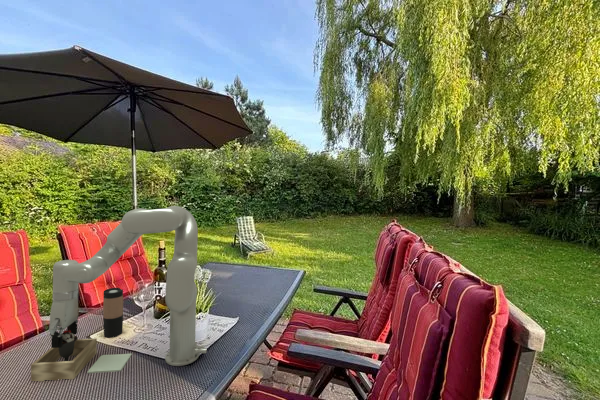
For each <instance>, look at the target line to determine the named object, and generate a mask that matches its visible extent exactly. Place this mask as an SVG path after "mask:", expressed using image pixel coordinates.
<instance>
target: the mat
mask: <svg viewBox="0 0 600 400" xmlns="http://www.w3.org/2000/svg"><path fill="white" fill-rule="evenodd" d="M132 355H133V354H132V353H120V354H119V353H118V354H116V353H115V354H101V355H100V356H99V358H97V360H95V362H94V363H93V364H92V366H90V368H89V369H88V371H87V374H98V373H99V374H100V373H103V374H104V373H114V372H115V373H116V372H122V371H123V369H124V367H125V366H126V364H127V363H128V361H129V360H130V358H131V357H132Z"/></svg>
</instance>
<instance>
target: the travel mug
mask: <svg viewBox="0 0 600 400" xmlns="http://www.w3.org/2000/svg"><path fill="white" fill-rule="evenodd" d="M102 311H103V313H102V315H103V317H102V318H103V319H102V320H103V337H104V338H106V339H113V338H117V337H119V336H121V335H122V334H123V330H124V329H123V327H124V326H123V325H124V289H123V288H120V287H111V288H106V289H105V290H103V310H102Z"/></svg>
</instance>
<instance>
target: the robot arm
mask: <svg viewBox="0 0 600 400" xmlns="http://www.w3.org/2000/svg"><path fill="white" fill-rule="evenodd" d="M197 224H198V223H197V221H196V219H195V217H194V215H193V214H192V213H191V211H188V209H186V208H184V207H182V206H178V205H171V206H168V207H165V208H155V209H146V208H141V207H140V208H135V209H132V210H129V211H127V212H125V214H124V215H123V216H122V218H121V222H120V223H119V224H118V225H117V226H116V227H115V228H114V229H113V230H112V231H111V232H110V233H109V234H108V235H107V237H106V241H105V243H104V245H103V246H102V247H101V248H100V249H99V250H98V251H96V252H95V254H94V255H93V256H92V257H90V258H89V259H87V260H85V261H83V262H80V263H79V261H78V260H75V259H64V260H59V261H56V262H54V263H53V266H52V267H53V268H52V303H51V308H50V315H49V326H48V327H49V329H48V332H49V335H50V338H51V345H50V346H51V347H50V348H61V347H62V343H63V336H61V335H62V333H63V332H64V330H66V329H67V331H68V330H69V329H70V331H71V333H73V334H74V335H77V334H78V322H79V319H78V318H79V313H80V308H79V301H78V298H79V284H89V283H92V282H94V281H95V280H96V279H98V278H99V277H100V276H102V275H104V274H105V273H106V272H107V271H108V270H109V269H110V268H111V267H112V266H113V265H114V264H115V263H116V262H117V261H118V260H119V259H120V258H121V256H123V255H124V254H125V253H126V252H127V251H128V250H129V249H130V248H131V247H132V246H133V245H134V244H135V242H137V240H138V239H140V238H141V236H143V235H144V234H145V235H147V234H156V233H157V234H158V233H168V232H173V231H174V235H175V236H174V243H173V244H174V247H173V257H172V259H171V260H170V261H169V263H168V266H167V267H166V268H167V269H166V278H165V279H166V280H165V281H166V282H165V295H164V297H165V298H164V299H165V304H166V306H167V308H168V309H169V351H168V352H167V353H166V354H165V357H164V361H165V363H166V364H167V365H170V366H173V367H174V366H175V367H181V366H186V365H189V364H192V363H194V362H195V361H196V360H198V359H199V356H200V354H207V351H208V349H207V347H205V345H197V344H198V342H197V341H196V328H197V327H196V322H197V321H196V319H197V298H198V297H197V296H198V288H197V287H198V286H197V284H196V282H195V273H196V270H197V266H198V236H199V234H198V233H199V232H198V231H199V230H198V229H199V228H198V225H197ZM58 330H59V331H58Z"/></svg>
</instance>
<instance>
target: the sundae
mask: <svg viewBox="0 0 600 400" xmlns="http://www.w3.org/2000/svg"><path fill="white" fill-rule="evenodd" d="M61 336H63V343H62V347H61V348H58V349H59V354H60V356H61V357H60V358H63V359H64V361H70V360H69V359H70V357H71V355H72V353H73V350H74V344H75V341H76V340H77V339H79V337H78V335H75V334H73V333H71V331H70V329H69V330H68V331H67V328H65V329H64V330H63V332H62V335H61Z"/></svg>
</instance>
